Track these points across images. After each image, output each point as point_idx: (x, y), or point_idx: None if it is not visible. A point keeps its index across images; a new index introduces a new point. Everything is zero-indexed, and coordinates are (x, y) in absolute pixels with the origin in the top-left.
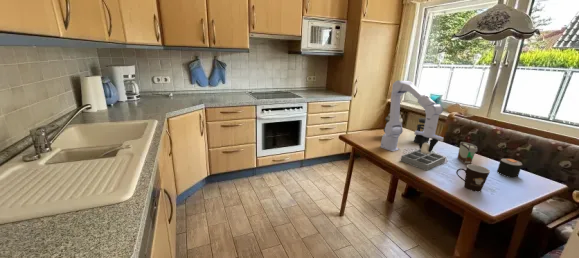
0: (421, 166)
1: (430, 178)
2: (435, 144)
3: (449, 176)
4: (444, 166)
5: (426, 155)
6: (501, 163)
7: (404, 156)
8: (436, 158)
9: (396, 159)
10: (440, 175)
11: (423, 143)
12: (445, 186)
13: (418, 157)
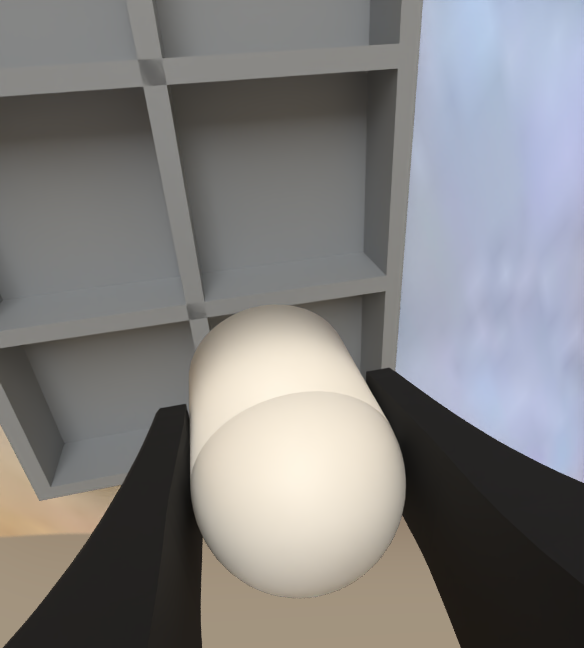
0: None
1: None
2: (544, 465)
3: (558, 294)
4: (455, 36)
5: (166, 105)
6: None
7: (79, 487)
8: (358, 69)
9: (3, 456)
10: (491, 353)
11: (235, 575)
12: (558, 466)
13: (167, 320)
